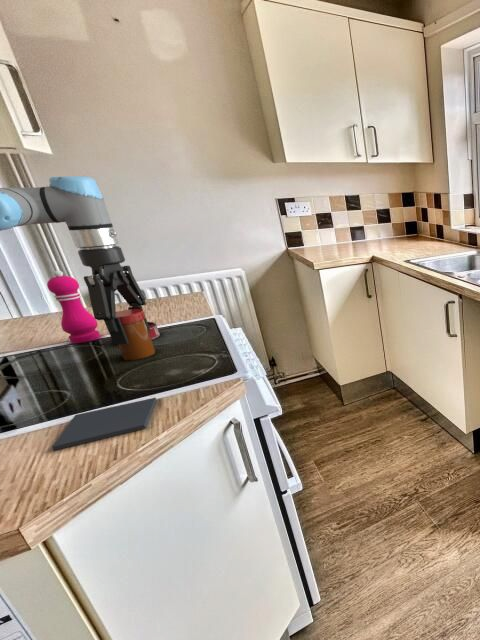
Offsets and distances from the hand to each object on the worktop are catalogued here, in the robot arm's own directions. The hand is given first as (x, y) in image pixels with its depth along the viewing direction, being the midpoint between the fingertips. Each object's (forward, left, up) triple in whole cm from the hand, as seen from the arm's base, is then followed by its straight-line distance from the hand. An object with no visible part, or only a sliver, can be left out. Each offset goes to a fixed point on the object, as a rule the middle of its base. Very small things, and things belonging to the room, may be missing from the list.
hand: (132, 337), depth 106 cm
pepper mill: (-16, +25, -5) cm, 30 cm away
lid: (0, 0, +6) cm, 6 cm away
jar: (0, 0, -5) cm, 5 cm away
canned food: (-3, +17, -5) cm, 18 cm away
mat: (+2, -40, -5) cm, 40 cm away
